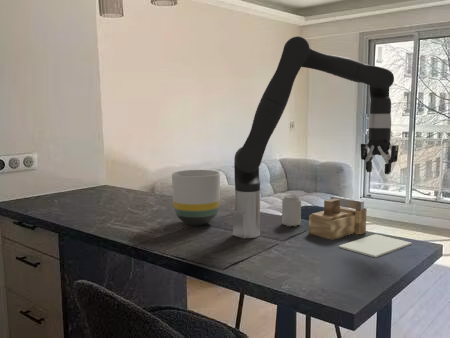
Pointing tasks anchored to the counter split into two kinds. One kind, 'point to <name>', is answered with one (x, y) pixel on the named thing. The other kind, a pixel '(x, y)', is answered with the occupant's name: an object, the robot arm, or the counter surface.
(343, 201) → the bolt
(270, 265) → the counter surface
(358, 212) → the toolbox
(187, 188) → the planter
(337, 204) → the lid
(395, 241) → the mat
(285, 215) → the can
